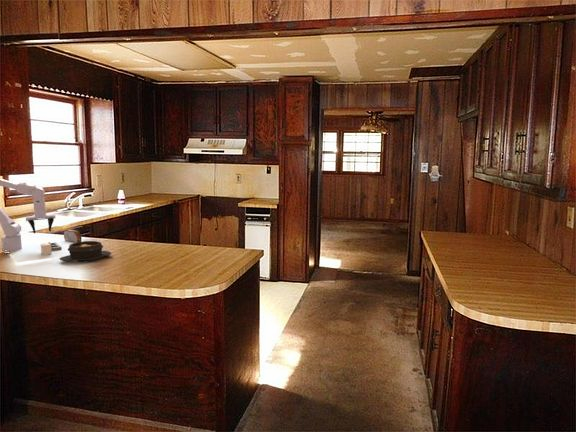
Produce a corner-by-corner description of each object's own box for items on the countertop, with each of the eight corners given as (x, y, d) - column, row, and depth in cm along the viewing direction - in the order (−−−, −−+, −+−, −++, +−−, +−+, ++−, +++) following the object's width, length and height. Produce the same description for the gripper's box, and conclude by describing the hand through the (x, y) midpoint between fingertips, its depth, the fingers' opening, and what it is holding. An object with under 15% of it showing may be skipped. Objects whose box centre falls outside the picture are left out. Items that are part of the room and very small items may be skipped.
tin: (82, 244, 263) (81, 230, 262) (77, 245, 261) (76, 231, 259) (68, 241, 271) (67, 228, 270) (63, 242, 269) (62, 229, 267)
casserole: (66, 267, 212) (65, 250, 211) (55, 260, 225) (53, 244, 224) (117, 258, 229) (116, 243, 228) (103, 252, 243) (102, 237, 241)
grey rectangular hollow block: (47, 253, 239) (47, 247, 238) (42, 249, 250) (42, 242, 250) (61, 252, 243) (61, 245, 242) (56, 247, 255) (55, 241, 254)
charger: (43, 257, 230) (42, 245, 229) (41, 256, 234) (40, 244, 233) (51, 256, 233) (50, 244, 232) (49, 254, 237) (48, 243, 236)
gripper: (25, 210, 237) (28, 234, 239) (55, 208, 245) (57, 231, 248) (24, 209, 242) (26, 233, 244) (53, 206, 251) (55, 229, 253)
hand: (42, 232), depth 246 cm, fingers open, 7 cm apart
